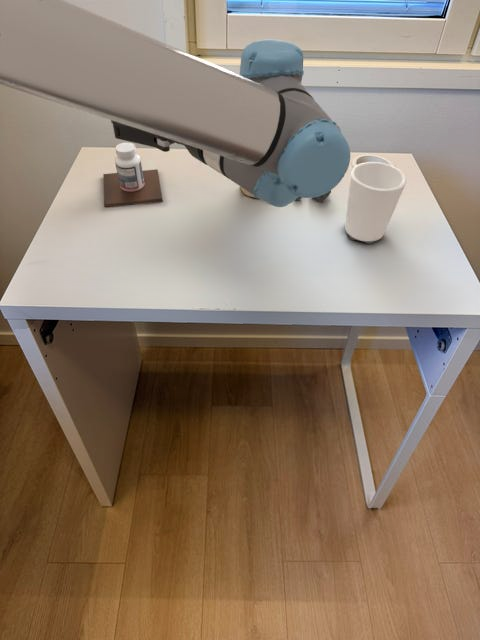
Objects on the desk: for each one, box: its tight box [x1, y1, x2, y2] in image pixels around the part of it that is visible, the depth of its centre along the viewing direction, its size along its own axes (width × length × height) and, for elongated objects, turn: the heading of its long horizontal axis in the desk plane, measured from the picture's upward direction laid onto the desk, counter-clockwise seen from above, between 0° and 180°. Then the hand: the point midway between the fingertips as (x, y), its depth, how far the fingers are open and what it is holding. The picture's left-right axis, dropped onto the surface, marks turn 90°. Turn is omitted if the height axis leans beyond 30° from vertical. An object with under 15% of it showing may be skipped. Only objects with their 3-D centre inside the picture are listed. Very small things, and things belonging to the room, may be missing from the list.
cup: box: [344, 161, 408, 245], centre depth 88 cm, size 10×10×13 cm
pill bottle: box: [114, 142, 144, 192], centre depth 98 cm, size 5×5×9 cm
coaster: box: [102, 168, 164, 208], centre depth 101 cm, size 12×12×1 cm
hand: (140, 97), depth 81 cm, fingers open, 13 cm apart
